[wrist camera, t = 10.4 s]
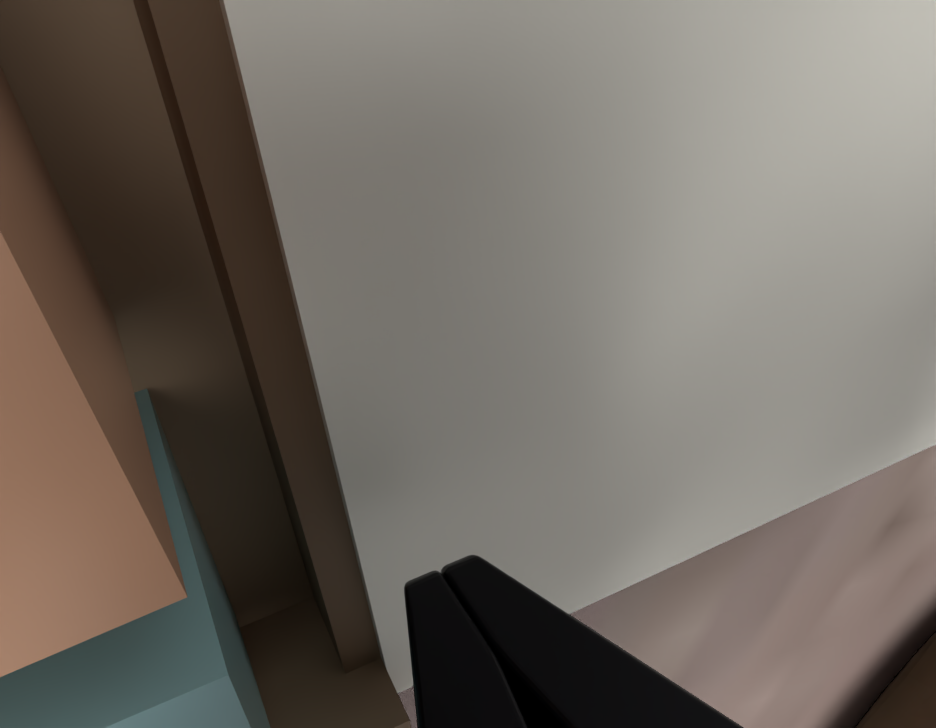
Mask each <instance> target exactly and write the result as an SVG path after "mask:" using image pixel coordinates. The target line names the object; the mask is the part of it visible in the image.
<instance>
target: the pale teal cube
mask: <svg viewBox="0 0 936 728" xmlns="http://www.w3.org/2000/svg"><path fill="white" fill-rule="evenodd" d="M134 394H135V398H136V402H137V406H138V409H139V413H140V417H141V421H142V425H143V428H144V432H145V436H146V440H147V444H148V448H149V451H150V455H151V459H152V463H153V467H154V470H155V474H156V478H157V482H158V486H159V489H160V493H161V497H162V501H163V505H164V509H165V512H166V516H167V520H168V524H169V528H170V531H171V535H172V539H173V543H174V547H175V551H176V554H177V558H178V562H179V566H180V570H181V573H182V577H183V581H184V585H185V589H186V592H187V596H188V597H187V598H184V599H182V600H180V601H177V602H175V603H173V604H170V605H168V606H166V607H163V608H161V609H159V610H156V611H154V612H152V613H149V614H147V615H145V616H142V617H140V618H138V619H135V620H133V621H131V622H128V623H126V624H124V625H121V626H119V627H117V628H114V629H112V630H109V631H107V632H105V633H102V634H100V635H98V636H95V637H93V638H91V639H88V640H86V641H84V642H81V643H79V644H77V645H74V646H72V647H70V648H67V649H65V650H63V651H60V652H58V653H56V654H53V655H51V656H49V657H46V658H44V659H42V660H39V661H37V662H35V663H32V664H30V665H28V666H25V667H23V668H21V669H18V670H16V671H14V672H11V673H9V674H7V675H4V676H2V677H0V728H271V727H270V724H269V721H268V718H267V715H266V711H265V708H264V705H263V702H262V699H261V695H260V692H259V689H258V686H257V682H256V679H255V676H254V673H253V670H252V666H251V663H250V660H249V657H248V654H247V650H246V647H245V644H244V641H243V638H242V634H241V631H240V628H239V625H238V622H237V618H236V615H235V613H234V610H233V608H232V605H231V602H230V600H229V597H228V595H227V592H226V590H225V587H224V585H223V582H222V579H221V577H220V574H219V572H218V569H217V567H216V564H215V561H214V559H213V556H212V554H211V551H210V549H209V546H208V544H207V541H206V538H205V536H204V533H203V531H202V528H201V526H200V523H199V520H198V518H197V515H196V513H195V510H194V508H193V505H192V502H191V500H190V497H189V495H188V492H187V490H186V487H185V485H184V482H183V479H182V477H181V474H180V472H179V469H178V467H177V464H176V461H175V459H174V456H173V454H172V451H171V449H170V446H169V444H168V441H167V438H166V436H165V433H164V431H163V428H162V426H161V423H160V420H159V418H158V415H157V413H156V410H155V408H154V405H153V403H152V400H151V397H150V395H149V392H148V390H147V389H144V390H141V391H138V392H135V393H134Z"/></svg>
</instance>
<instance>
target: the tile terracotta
mask: <svg viewBox="0 0 936 728" xmlns="http://www.w3.org/2000/svg"><path fill="white" fill-rule="evenodd" d="M187 597H188V596H187V592H186V589H185V585H184V581H183V577H182V573H181V570H180V566H179V562H178V558H177V554H176V551H175V547H174V543H173V539H172V535H171V531H170V528H169V524H168V520H167V516H166V512H165V509H164V505H163V501H162V497H161V493H160V489H159V486H158V482H157V478H156V474H155V470H154V467H153V463H152V459H151V455H150V451H149V448H148V444H147V440H146V436H145V432H144V428H143V425H142V421H141V417H140V413H139V409H138V406H137V402H136V398H135V394H134V390H133V386H132V383H131V379H130V375H129V371H128V367H127V364H126V360H125V356H124V352H123V348H122V345H121V341H120V337H119V333H118V329H117V325H116V322H115V318H114V316H113V313H112V311H111V309H110V307H109V304H108V302H107V300H106V298H105V296H104V293H103V291H102V289H101V287H100V285H99V282H98V280H97V278H96V276H95V274H94V271H93V269H92V267H91V265H90V262H89V260H88V258H87V256H86V254H85V251H84V249H83V247H82V245H81V243H80V240H79V238H78V236H77V234H76V232H75V229H74V227H73V225H72V223H71V220H70V218H69V216H68V214H67V212H66V209H65V207H64V205H63V203H62V201H61V198H60V196H59V194H58V192H57V190H56V187H55V185H54V183H53V181H52V178H51V176H50V174H49V172H48V170H47V167H46V165H45V163H44V161H43V159H42V156H41V154H40V152H39V150H38V148H37V145H36V143H35V141H34V139H33V136H32V134H31V132H30V130H29V128H28V125H27V123H26V121H25V119H24V117H23V114H22V112H21V110H20V108H19V105H18V103H17V101H16V99H15V97H14V94H13V92H12V90H11V88H10V86H9V83H8V81H7V79H6V77H5V75H4V72H3V70H2V68H1V66H0V677H2V676H4V675H7V674H9V673H11V672H14V671H16V670H18V669H21V668H23V667H25V666H28V665H30V664H32V663H35V662H37V661H39V660H42V659H44V658H46V657H49V656H51V655H53V654H56V653H58V652H60V651H63V650H65V649H67V648H70V647H72V646H74V645H77V644H79V643H81V642H84V641H86V640H88V639H91V638H93V637H95V636H98V635H100V634H102V633H105V632H107V631H109V630H112V629H114V628H117V627H119V626H121V625H124V624H126V623H128V622H131V621H133V620H135V619H138V618H140V617H142V616H145V615H147V614H149V613H152V612H154V611H156V610H159V609H161V608H163V607H166V606H168V605H170V604H173V603H175V602H177V601H180V600H182V599H184V598H187Z"/></svg>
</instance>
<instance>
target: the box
mask: <svg viewBox="0 0 936 728" xmlns="http://www.w3.org/2000/svg"><path fill="white" fill-rule="evenodd" d="M0 66H1V68H2V70H3V72H4V75H5V77H6V79H7V81H8V83H9V86H10V88H11V90H12V92H13V94H14V97H15V99H16V101H17V103H18V105H19V108H20V110H21V112H22V114H23V117H24V119H25V121H26V123H27V125H28V128H29V130H30V132H31V134H32V136H33V139H34V141H35V143H36V145H37V148H38V150H39V152H40V154H41V156H42V159H43V161H44V163H45V165H46V167H47V170H48V172H49V174H50V176H51V178H52V181H53V183H54V185H55V187H56V190H57V192H58V194H59V196H60V198H61V201H62V203H63V205H64V207H65V209H66V212H67V214H68V216H69V218H70V220H71V223H72V225H73V227H74V229H75V232H76V234H77V236H78V238H79V240H80V243H81V245H82V247H83V249H84V251H85V254H86V256H87V258H88V260H89V262H90V265H91V267H92V269H93V271H94V274H95V276H96V278H97V280H98V282H99V285H100V287H101V289H102V291H103V293H104V296H105V298H106V300H107V302H108V304H109V307H110V309H111V311H112V313H113V316H114V318H115V322H116V325H117V329H118V333H119V337H120V341H121V345H122V348H123V352H124V356H125V360H126V364H127V367H128V371H129V375H130V379H131V383H132V386H133V390H134V393H135V392H138V391H141V390H144V389H147V390H148V392H149V395H150V397H151V400H152V403H153V405H154V408H155V410H156V413H157V415H158V418H159V420H160V423H161V426H162V428H163V431H164V433H165V436H166V438H167V441H168V444H169V446H170V449H171V451H172V454H173V456H174V459H175V461H176V464H177V467H178V469H179V472H180V474H181V477H182V479H183V482H184V485H185V487H186V490H187V492H188V495H189V497H190V500H191V502H192V505H193V508H194V510H195V513H196V515H197V518H198V520H199V523H200V526H201V528H202V531H203V533H204V536H205V538H206V541H207V544H208V546H209V549H210V551H211V554H212V556H213V559H214V561H215V564H216V567H217V569H218V572H219V574H220V577H221V579H222V582H223V585H224V587H225V590H226V592H227V595H228V597H229V600H230V602H231V605H232V608H233V610H234V613H235V615H236V618H237V622H238V625H239V628H240V631H241V634H242V638H243V641H244V644H245V647H246V650H247V654H248V657H249V660H250V663H251V666H252V670H253V673H254V676H255V679H256V682H257V686H258V689H259V692H260V695H261V699H262V702H263V705H264V708H265V711H266V715H267V718H268V721H269V724H270V727H271V728H411V724H410V720H409V718H408V715H407V713H406V711H405V709H404V707H403V704H402V702H401V700H400V698H399V696H398V694H397V691H396V689H395V687H394V685H393V683H392V680H391V678H390V676H389V674H388V672H387V669H386V667H385V665H384V663H383V661H382V658H381V655H380V651H379V647H378V643H377V639H376V635H375V631H374V627H373V622H372V618H371V614H370V610H369V606H368V602H367V598H366V594H365V590H364V586H363V582H362V578H361V574H360V570H359V566H358V562H357V558H356V554H355V549H354V545H353V541H352V537H351V533H350V529H349V525H348V521H347V517H346V513H345V509H344V505H343V501H342V497H341V493H340V489H339V485H338V481H337V476H336V472H335V468H334V464H333V460H332V456H331V452H330V448H329V444H328V440H327V436H326V432H325V428H324V424H323V420H322V416H321V412H320V408H319V403H318V399H317V395H316V391H315V387H314V383H313V379H312V375H311V371H310V367H309V363H308V359H307V355H306V351H305V347H304V343H303V339H302V335H301V330H300V326H299V322H298V318H297V314H296V310H295V306H294V302H293V298H292V294H291V290H290V286H289V282H288V278H287V274H286V270H285V266H284V262H283V257H282V253H281V249H280V245H279V241H278V237H277V233H276V229H275V225H274V221H273V217H272V213H271V209H270V205H269V201H268V197H267V193H266V189H265V184H264V180H263V176H262V172H261V168H260V164H259V160H258V156H257V152H256V148H255V144H254V140H253V136H252V132H251V128H250V124H249V120H248V116H247V111H246V107H245V103H244V99H243V95H242V91H241V87H240V83H239V79H238V75H237V71H236V67H235V63H234V59H233V55H232V51H231V47H230V43H229V38H228V34H227V30H226V26H225V22H224V18H223V14H222V10H221V6H220V2H219V0H0Z"/></svg>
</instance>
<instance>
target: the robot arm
mask: <svg viewBox="0 0 936 728" xmlns="http://www.w3.org/2000/svg"><path fill="white" fill-rule="evenodd" d="M404 596H405V606H406V616H407V626H408V636H409V646H410V656H411V666H412V676H413V686H414V696H415V706H416V716H417V726H418V728H743V727H742V726H740V725H739V724H737V723H736V722H734V721H733V720H731V719H729V718H728V717H726V716H725V715H723V714H722V713H720V712H719V711H717V710H716V709H714V708H712V707H711V706H709V705H708V704H706V703H705V702H703V701H702V700H700V699H699V698H697V697H696V696H694V695H692V694H691V693H689V692H688V691H686V690H685V689H683V688H682V687H680V686H679V685H677V684H676V683H674V682H672V681H671V680H669V679H668V678H666V677H665V676H663V675H662V674H660V673H659V672H657V671H656V670H654V669H652V668H651V667H649V666H648V665H646V664H645V663H643V662H642V661H640V660H639V659H637V658H636V657H634V656H632V655H631V654H629V653H628V652H626V651H625V650H623V649H622V648H620V647H619V646H617V645H615V644H614V643H612V642H611V641H609V640H608V639H606V638H605V637H603V636H602V635H600V634H599V633H597V632H595V631H594V630H592V629H591V628H589V627H588V626H586V625H585V624H583V623H582V622H580V621H579V620H577V619H575V618H574V617H572V616H571V615H569V614H568V613H566V612H565V611H563V610H562V609H560V608H559V607H557V606H555V605H554V604H552V603H551V602H549V601H548V600H546V599H545V598H543V597H542V596H540V595H539V594H537V593H535V592H534V591H532V590H531V589H529V588H528V587H526V586H525V585H523V584H522V583H520V582H519V581H517V580H515V579H514V578H512V577H511V576H509V575H508V574H506V573H505V572H503V571H502V570H500V569H498V568H497V567H495V566H494V565H492V564H491V563H489V562H488V561H486V560H485V559H483V558H481V557H480V556H477V555H468V556H466V557H463V558H461V559H459V560H456V561H454V562H452V563H449V564H447V565H445V566H444V567H443V568H442V569H441V573H440V572H439V571H436V570H435V571H430V572H428V573H426V574H423V575H421V576H419V577H416V578H414V579H412V580H409V581H408V582H406V583H405V586H404Z"/></svg>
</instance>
